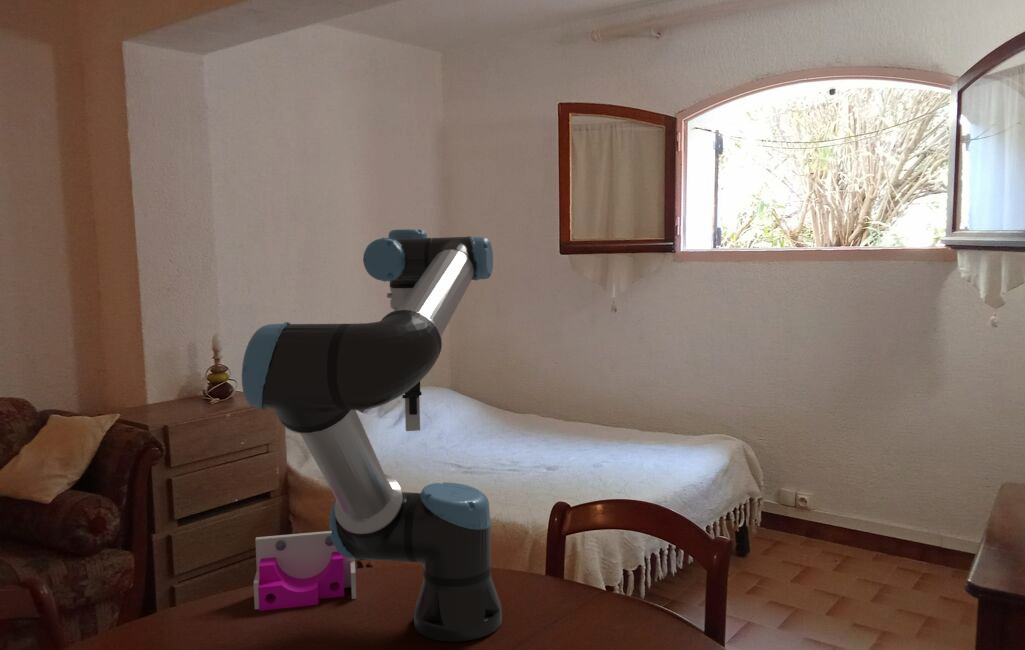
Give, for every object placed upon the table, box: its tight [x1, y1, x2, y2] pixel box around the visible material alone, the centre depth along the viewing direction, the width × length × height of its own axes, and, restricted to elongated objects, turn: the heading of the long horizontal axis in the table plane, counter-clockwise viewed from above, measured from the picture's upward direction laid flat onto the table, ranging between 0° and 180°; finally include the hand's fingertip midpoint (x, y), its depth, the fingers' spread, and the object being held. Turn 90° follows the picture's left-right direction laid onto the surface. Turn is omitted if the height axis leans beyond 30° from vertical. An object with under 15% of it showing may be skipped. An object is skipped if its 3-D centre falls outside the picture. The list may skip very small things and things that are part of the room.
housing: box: [253, 530, 357, 610], centre depth 146 cm, size 7×18×11 cm, turn 103°
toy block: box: [258, 552, 345, 611], centre depth 145 cm, size 15×6×8 cm, turn 103°
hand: (412, 429), depth 153 cm, fingers closed
